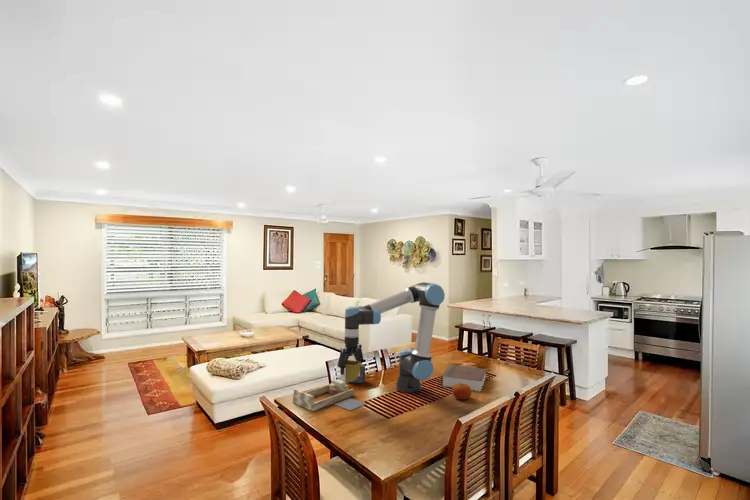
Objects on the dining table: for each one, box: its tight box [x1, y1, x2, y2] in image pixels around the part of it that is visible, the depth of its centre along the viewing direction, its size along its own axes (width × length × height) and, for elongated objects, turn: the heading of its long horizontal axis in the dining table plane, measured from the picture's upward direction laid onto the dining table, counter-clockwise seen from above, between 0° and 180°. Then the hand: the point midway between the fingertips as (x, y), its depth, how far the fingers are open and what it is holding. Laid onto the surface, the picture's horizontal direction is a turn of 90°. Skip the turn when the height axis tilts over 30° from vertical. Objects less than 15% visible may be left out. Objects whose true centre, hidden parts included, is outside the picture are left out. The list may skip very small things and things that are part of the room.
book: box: [440, 364, 487, 392], centre depth 243 cm, size 24×28×6 cm
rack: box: [292, 382, 355, 412], centre depth 209 cm, size 16×30×7 cm, turn 139°
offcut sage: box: [332, 379, 347, 387], centre depth 217 cm, size 7×4×2 cm, turn 42°
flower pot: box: [345, 359, 361, 381], centre depth 202 cm, size 9×9×9 cm
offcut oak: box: [329, 382, 349, 392], centre depth 217 cm, size 10×4×2 cm, turn 69°
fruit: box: [451, 383, 472, 400], centre depth 214 cm, size 11×10×8 cm
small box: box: [346, 363, 366, 385], centre depth 239 cm, size 11×6×10 cm, turn 84°
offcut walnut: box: [327, 388, 349, 395], centre depth 217 cm, size 12×4×3 cm, turn 59°
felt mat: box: [333, 397, 367, 412], centre depth 202 cm, size 12×12×1 cm
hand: (350, 377), depth 202 cm, fingers closed on flower pot, 10 cm apart
